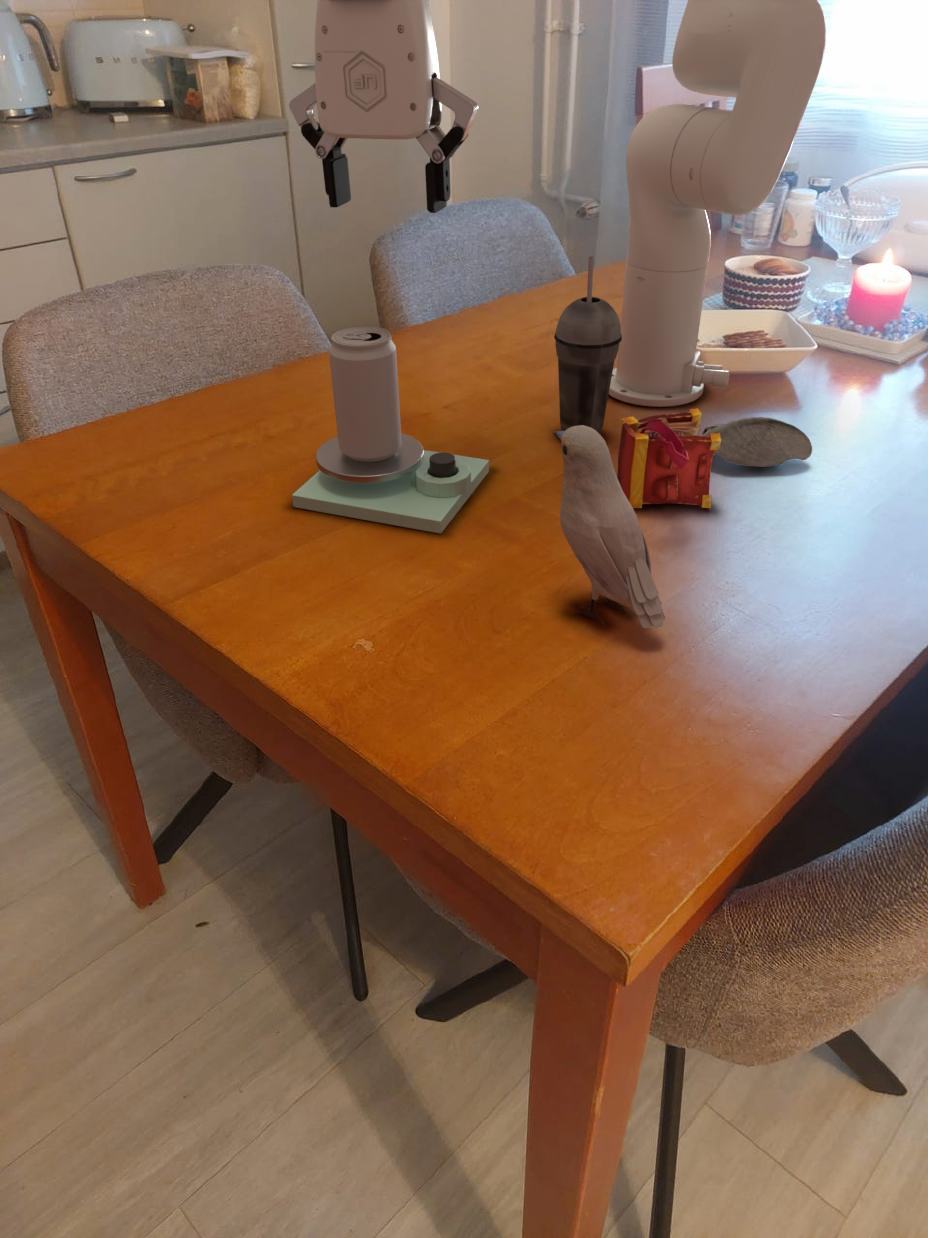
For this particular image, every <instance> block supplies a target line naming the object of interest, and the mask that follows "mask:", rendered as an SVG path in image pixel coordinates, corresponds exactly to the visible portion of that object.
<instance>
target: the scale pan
mask: <svg viewBox="0 0 928 1238" xmlns="http://www.w3.org/2000/svg"><path fill="white" fill-rule="evenodd" d="M401 439H402V445H401V447H400V449H399V450H398V451H396V452H395V454H394V455H393V456H391V457H390V458H387V459H385V460H381V461H375V462H361V461H356V460H353V459H351V458H349V457H348V456H347V455H345V454H344V453H342V452H341V450H340V449H339V443H338V435H337V436H335V437H333V438H330V439H328V440H327V441H325V442H324V443H322V444H321V445H320V446H319V447H318V449H317V450H316V453H315V460H316V462H315V463H316V467H317V468H318V471H319V470H320V471H321V472H322V473H324V474H325V475H327V476H329V477H331V478H333V479H336V480H340V481H345V482H351V483H378V482H385V481H390V480H394V479H398V478H401V477H404V476H406V475H408V474H410V473H412V472H413V471H415V470H416V469H417V468H419V467H420V465H421V464H422V462H423V460H424V450H425V449H424V447H423V445H422V444H421V442H420V441H419V440H418V439H416V438H415V437H413V436H411V435H408V434H406V433H402V432H401Z"/></svg>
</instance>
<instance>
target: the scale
mask: <svg viewBox="0 0 928 1238" xmlns="http://www.w3.org/2000/svg"><path fill="white" fill-rule="evenodd" d="M423 450H424V460H423V462H422V464H421V465H420V467H419V468H417V469H416V470H415V471H413V472H412V473H410V474H408V475H406V476H404V477H401V478H398V479H394V480H390V481H385V482H378V483H351V482H345V481H340V480H336V479H333V478H331V477H329V476H327V475H325V474H324V473H322V472H321V471H320V470H319V469H318V470H317V472H316V473H315V474H314V475H312V476H311V477H310V478H309V479H308V480H306V481H305V483H304V484H302V485H301V486H300V487H299V488H297V490H296V491H295V492H293V493H292V494H291V500H292V507H293V508H296V509H301V510H307V511H313V512H317V513H323V514H324V513H325V514H329V515H336V516H341V517H345V518H352V519H357V520H362V521H368V522H373V523H380V524H384V525H390V526H397V527H400V528H401V527H402V528H406V529H407V528H408V529H412V530H413V529H414V530H418V531H424V532H430V533H434V534H440V535H441V534H442V533H443V532H444V530H445V529H446V528H447V526H449V524H450V522H451V521H452V520H453V519H454V518H455V516H456V515H458V514H457V513H458V512H459V511H460V510H461V509H462V507H463V506H464V505H465V503H466V502H467V501H468V499H469V498H470V497H471V496H472V495H473V494H474V492H475V491H476V489H477V488H478V486H479V485H480V484H481V482H482V481H483V480H484V479H485V478H486V476H487V475H488V473H490V459H484V458H478V457H470V456H466V455H459V454H453V455H454V456H455V458H456V474H455V475H454V476H452V477H448V478H437V477H433V476H431V475H430V461H429V459H430V456H432V455H433V454H436V453H440V451H439V452H438V451H432V450H426V449H423Z"/></svg>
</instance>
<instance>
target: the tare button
mask: <svg viewBox="0 0 928 1238" xmlns="http://www.w3.org/2000/svg"><path fill="white" fill-rule="evenodd" d="M454 455H455V454H452V453H451V452H439V453H436V454H433V455H432V456H430V459H429V461H430V475H431V476H433V477H437V478H448V477H452V476H454V475H455V474H456V458H455V456H454Z"/></svg>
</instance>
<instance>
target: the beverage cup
mask: <svg viewBox="0 0 928 1238" xmlns="http://www.w3.org/2000/svg"><path fill="white" fill-rule="evenodd" d="M594 259H595V257H594V256H593V255H590V256H588V264H587V265H588V269H587V284H586V285H587V286H586V290H587V291H586V296H584V297H580V298H577V299H575V300H573V301H572V302H571V303H569V304H568V305H567V306H566V307H565V308H564V310H563V311H562V313H561V315H559V319H558V321H557V324H556V328H555V333H554V335H553V338H554V341H555V351H556V357H557V369H558V396H559V397H558V399H559V401H558V402H559V424H560V431H566V430H567V429H569V428H570V427H573V426H580V425H584V426H587V427H590V428H593V429H594V430H596V431H597V432H598V433H599V434H600V435H601V434H602V432H603V426H604V424H605V418H606V411H607V406H608V400H609V396H610V395H609V389H610V383H611V378H612V372H613V369H614V366H615V360H616V359H617V357H618V349H619V343H620V342H621V341H622V335H621V326H620V325H621V320H620V318H619V315H618V314H617V311H616V310H615V309H614V307H613V306H612V305H611V304H610V303H609V302H607V301H606V300H604V299H603V298H600V297H597V296H593V281H594ZM601 436H602V435H601Z"/></svg>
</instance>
